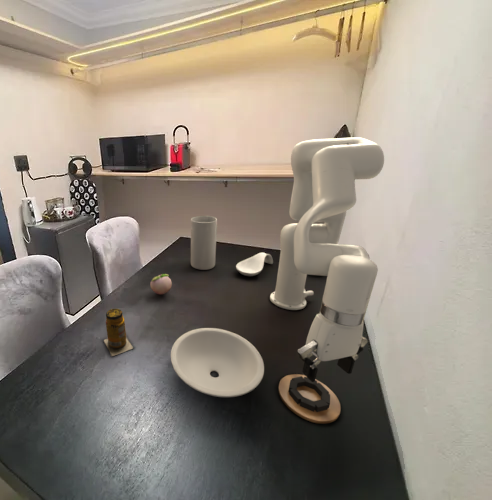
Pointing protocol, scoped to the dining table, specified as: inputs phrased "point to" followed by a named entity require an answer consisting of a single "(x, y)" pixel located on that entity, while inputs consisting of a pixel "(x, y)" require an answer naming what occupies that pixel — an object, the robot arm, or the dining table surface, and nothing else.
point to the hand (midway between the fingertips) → (326, 373)
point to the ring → (307, 403)
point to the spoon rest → (254, 264)
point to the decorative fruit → (161, 284)
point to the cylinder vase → (203, 242)
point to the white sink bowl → (217, 362)
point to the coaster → (311, 394)
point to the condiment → (116, 333)
